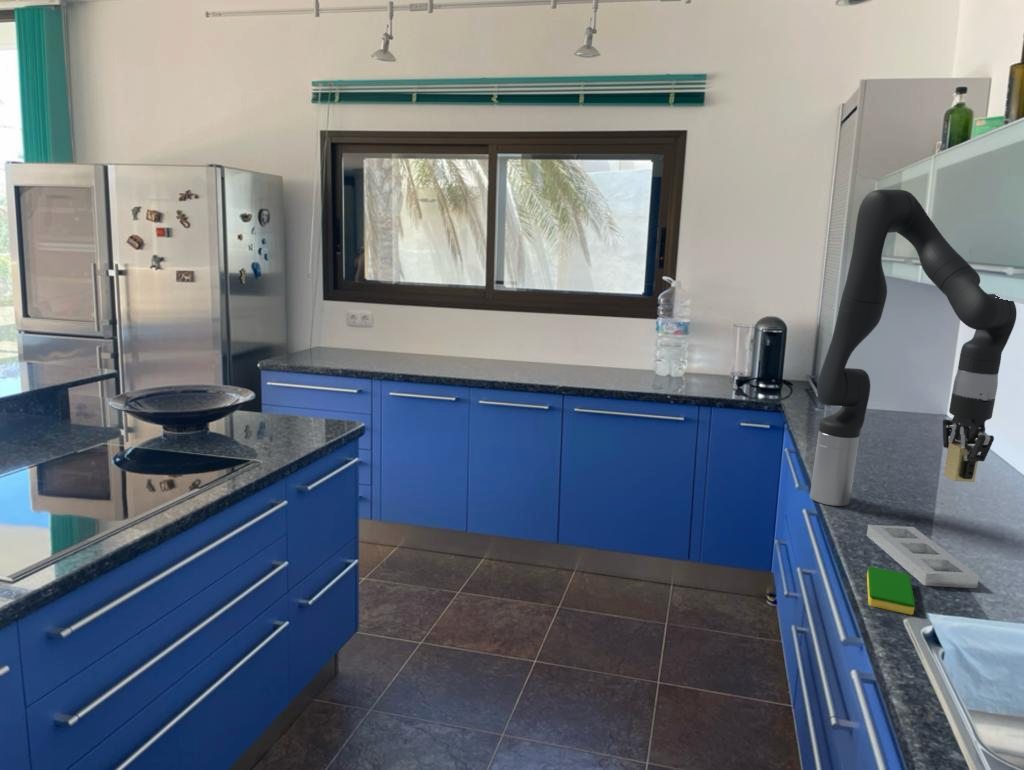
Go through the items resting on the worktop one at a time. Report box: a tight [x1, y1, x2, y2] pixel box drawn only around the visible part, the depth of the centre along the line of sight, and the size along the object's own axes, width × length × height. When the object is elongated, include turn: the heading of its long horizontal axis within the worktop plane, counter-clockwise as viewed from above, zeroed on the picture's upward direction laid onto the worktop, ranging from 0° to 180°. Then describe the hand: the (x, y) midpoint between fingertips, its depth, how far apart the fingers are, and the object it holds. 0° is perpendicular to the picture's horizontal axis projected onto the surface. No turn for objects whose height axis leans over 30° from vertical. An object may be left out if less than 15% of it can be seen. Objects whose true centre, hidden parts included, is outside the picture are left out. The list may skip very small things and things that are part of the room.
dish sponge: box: [866, 566, 916, 616], centre depth 139 cm, size 7×14×2 cm, turn 156°
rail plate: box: [866, 524, 980, 589], centre depth 155 cm, size 24×10×2 cm, turn 0°
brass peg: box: [943, 443, 981, 483], centre depth 156 cm, size 4×4×7 cm
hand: (959, 474), depth 156 cm, fingers closed on brass peg, 4 cm apart
